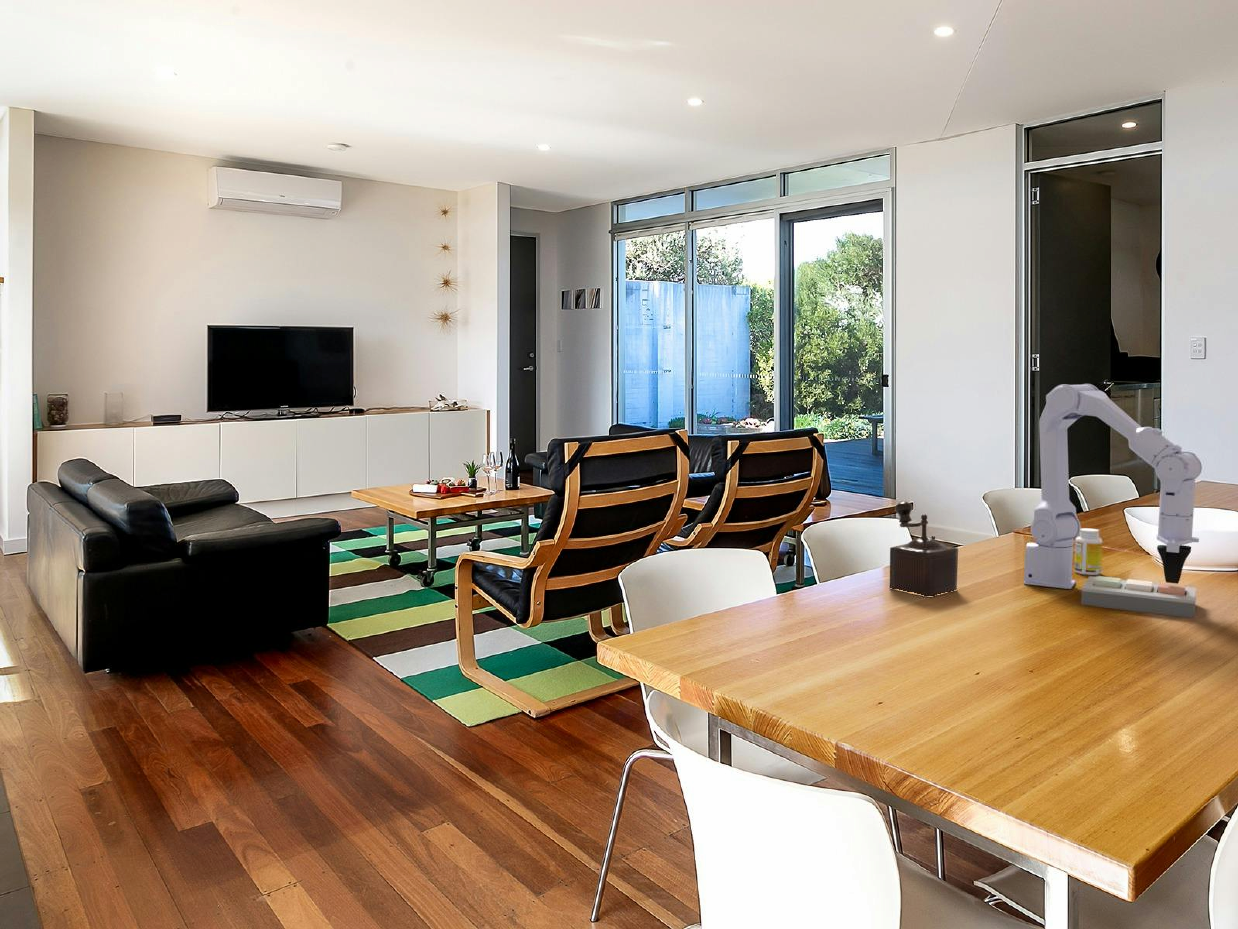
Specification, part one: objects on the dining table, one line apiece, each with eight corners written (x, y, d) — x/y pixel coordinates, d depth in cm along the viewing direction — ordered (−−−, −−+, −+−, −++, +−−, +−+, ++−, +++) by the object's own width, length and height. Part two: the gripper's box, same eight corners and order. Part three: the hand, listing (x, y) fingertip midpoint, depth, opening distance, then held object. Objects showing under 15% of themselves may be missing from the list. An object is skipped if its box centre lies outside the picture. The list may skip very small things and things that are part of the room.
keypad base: (1081, 604, 183) (1081, 588, 183) (1088, 592, 193) (1089, 576, 193) (1193, 618, 172) (1194, 600, 172) (1195, 604, 182) (1196, 587, 182)
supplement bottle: (1105, 573, 210) (1107, 529, 209) (1094, 577, 207) (1096, 532, 206) (1080, 569, 215) (1082, 526, 214) (1069, 572, 211) (1071, 529, 210)
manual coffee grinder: (960, 590, 195) (963, 507, 193) (929, 598, 189) (931, 512, 187) (900, 577, 208) (902, 499, 206) (868, 584, 201) (870, 504, 199)
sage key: (1093, 590, 185) (1094, 580, 185) (1096, 586, 188) (1096, 575, 188) (1118, 593, 182) (1119, 582, 182) (1120, 588, 186) (1121, 578, 186)
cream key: (1125, 594, 182) (1125, 583, 182) (1127, 589, 185) (1127, 579, 185) (1150, 597, 179) (1151, 586, 179) (1152, 592, 183) (1152, 581, 183)
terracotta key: (1157, 597, 179) (1158, 586, 178) (1159, 593, 182) (1159, 582, 182) (1184, 600, 176) (1184, 589, 176) (1184, 596, 180) (1185, 585, 180)
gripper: (1199, 521, 169) (1195, 592, 171) (1201, 510, 181) (1197, 577, 183) (1155, 518, 173) (1151, 588, 175) (1160, 508, 185) (1156, 573, 187)
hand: (1172, 582), depth 179 cm, fingers closed
